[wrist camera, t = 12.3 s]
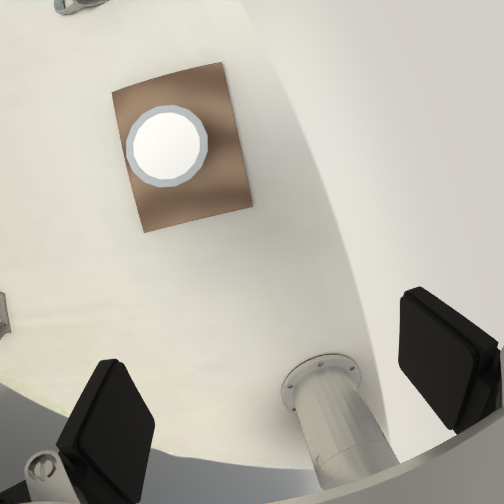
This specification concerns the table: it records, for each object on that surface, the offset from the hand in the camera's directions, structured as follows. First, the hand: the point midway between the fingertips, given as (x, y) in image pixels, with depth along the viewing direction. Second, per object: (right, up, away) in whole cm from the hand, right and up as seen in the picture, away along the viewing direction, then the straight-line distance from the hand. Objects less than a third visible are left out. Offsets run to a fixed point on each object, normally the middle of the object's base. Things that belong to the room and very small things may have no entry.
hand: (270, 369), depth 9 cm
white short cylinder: (-8, +14, +20) cm, 26 cm away
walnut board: (-8, +15, +21) cm, 27 cm away
